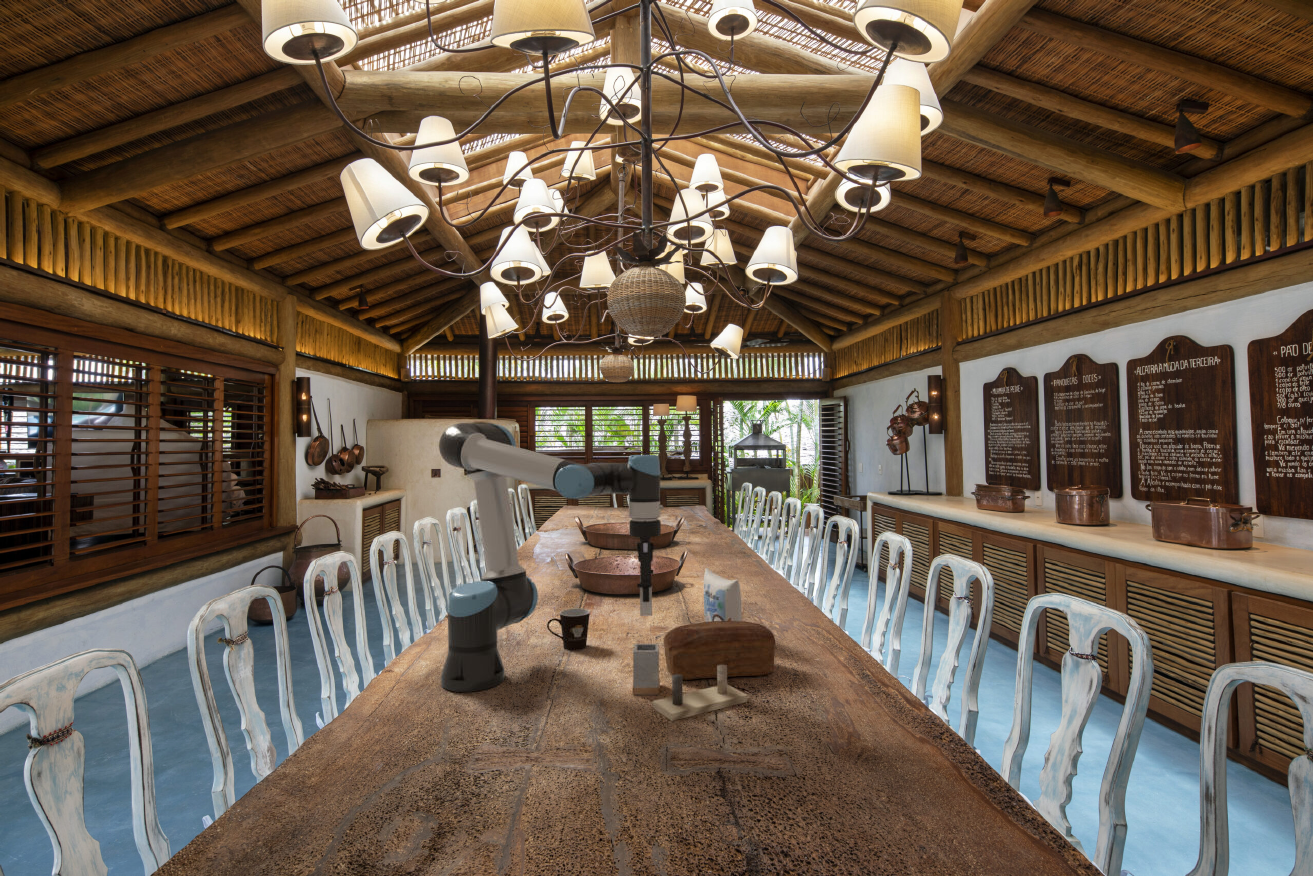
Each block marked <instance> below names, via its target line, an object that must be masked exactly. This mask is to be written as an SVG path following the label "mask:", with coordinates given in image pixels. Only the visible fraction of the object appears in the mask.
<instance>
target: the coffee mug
mask: <svg viewBox="0 0 1313 876" xmlns="http://www.w3.org/2000/svg"><path fill="white" fill-rule="evenodd" d="M590 615H591V611H590V610H589V609H586V608H568V609H563V610H561V611H559V619H558V618H551V619H550V620H548V621H547V623H546V628H547V630H548V632H550V633H551V634H552V635H554V636H555V637H558V638H559V639H561V640H562V643H563V649H564V650H566V651H573V652H574V651H581V650H584V649H586V648H587V642H588V633H589V631H588V630H589V624H590V623H589V622H590ZM553 621H556V622H557V623H559V625H560V627H561V634H562V635H559V634H557V633H556V632H554V631H552V629H551V628H550V624H551V622H553Z"/></svg>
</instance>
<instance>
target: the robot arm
mask: <svg viewBox="0 0 1313 876" xmlns="http://www.w3.org/2000/svg"><path fill="white" fill-rule="evenodd" d="M438 447H439V448H438V450H439V454H440V455H441V457H442V459H443V460H444V461H445V462H446V463H447V464H448V465H450V466H452V467H455V468H459V469H464V470H466V477H468V478H469V479H470V480H472V481H473V483H474V490H475V499H476V504H477V512H478V513H477V514H478V519H479V526H480V527H479V528H480V532H481V533H480V535H481V541H482V549H483V555H484V561H485V562H484V563H485V569H486V570H485V572H484V573H483V574H482V576H481V580H478V581H476V580H475V581H472V582H467V583H463V584H461V585H460V584H459V586H456V587H454V588H453V589H452V590H451V591H450V592H449V595H448V603H447V610H446V611H447V627H448V628H447V630H448V631H447V636H448V637H447V638H448V639H447V641H448V642H447V643H448V647H447V649H448V652H447V654H446V658H445V661H444V664H443V667H442V671H441V673H440V674H441V675H440V686H441V687H442V688H443V689H445V690H447V691H452V692H460V693H461V692H462V693H465V692H466V693H470V692H477V691H484V690H488V689H491V688H494V687H496V686H498V685H500V684H502V683H503V682H504V680H505V675H506V674H505V667H504V666H505V665H504V663H503V661H502V658H501V654H500V652H499V649H498V631H499V630H501V629H504V628H506V627H509V626H512V625H513V624H519V623H521V622H522V621H523V620H525V619H527V618H528V617H530V615H532V614H533V612H534V611H535V610H536V607H537V605H538V598H539V593H538V588H537V586H536V583H535V582H534V581H532V579H531V577H528V576H527V570H526V568H524V567H523V566H522V565H520V563H519V556H518V548H517V541H516V534H515V529H514V520H513V514H512V513H513V512H512V508H511V507H512V506H511V501H510V494H509V487H508V479H507V478H510V479H513V480H516V481H521V482H524V483H526V484H531V485H535V486H538V487H541V488H546V489H548V490H552V491H556V492H558V493H559V494H560V495H561V496H562V497H563V498H565V499H573V500H579V499H584V498H588V497H589V498H590V497H594V496H601V495H610V494H612V495H613V494H617V495H619V494H620V495H621V494H624V495H628V517H629V518H630V520H629V525H628V526H629V530H628V531H629V535H630V536H631V537H634V538H639V542H636V552H637V554H638V555H637V558H638V560H637V561H638V562H639V563H640V565H639V569H640V570H639V573H640V574H639V583H636V584H637V585H636V587H637V588H639V616H641V617H642V616H643V617H644V616H645V617H648V616H653V600H652V599H653V591H652V589H653V587H652V586H653V582H652V575H654V569H652V563H653V561H654V556H653V555H654V554H653V552H655V551H654V542H651V538H655V537H659V536H660V535H661V533H662V531H661V528H662V527H661V526H662V525H661V524H662V523H661V520H660V518H661V510H663V509H664V505H662V504H661V474H662V473H661V465H660V463H661V462H660V458H659V456H657V455H656V454H634V455H633V454H632V455H629V457H628V461H627V462H623V463H620V462H618V463H617V462H602V461H601V462H595V463H594V462H593V463H586V464H582V463H578V462H574V461H571V460H567V459H563V458H559V457H556V456H553V455H548V454H543V453H540V452H537V451H533V450H529V449H527V448H521V447H519V446H518V447H517V443H516V440H515V437H514V435H513V434H512V432H511V431H510V430H509V429H507V428H506V427H505V426H503V425H500V424H495V423H481V422H480V423H478V422H477V423H473V422H472V423H471V422H459V423H455V424H452V425H450V426H448V428H446V429H445V430H444V431H443V433H442V434H441V436H440V439H439V444H438Z"/></svg>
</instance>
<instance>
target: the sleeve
mask: <svg viewBox="0 0 1313 876" xmlns="http://www.w3.org/2000/svg"><path fill="white" fill-rule="evenodd" d="M632 649H633V650H632V658H633V659H632V667H633V668H632V671H633V672H632V673H633V674H632V678H633V679H632V688H631V689H632V695H633V696H634V695H635V696H636V695H638V696H639V695H641V696H642V695H643V696H645V695H646V696H647V695H649V696H651V695H657V696H658V695H661V679H660V643H633V648H632Z"/></svg>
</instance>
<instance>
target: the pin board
mask: <svg viewBox="0 0 1313 876" xmlns="http://www.w3.org/2000/svg"><path fill="white" fill-rule="evenodd" d="M671 676H672V675H671ZM716 679H717V685H715V686H711V687H707V688H703V689H698V690H694V691H689V692H687V693H683V692H684V691H683V679H682V675H680V674H675V675H673V676H672V679H671V681H672V688H671V689H672V691H671V692H672V696H669V697H664V698H660V699H655V700H652V709H653V710H655V711H657V712H658V713H659V714H661V715H662V716H663V717H665V718H667V719H668V720H669V721H671V722H672V721H673V722H674V721H677V720H681V719H685V718H688V717H692V716H693V717H694V716H697V715H700V714H704V713H708V712H709V713H710V712H713V711H716V710H719V709H720V710H721V709H724V708H728V707H731V706H736V705H739V704H740V705H741V704H743V703H747V702H748V694H746V693H744V692H742V691H740V690H738V689H737V688H735V687H732V686H731V685H729V684H728V677H727V666H726V665H718V666H717V678H716Z"/></svg>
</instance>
